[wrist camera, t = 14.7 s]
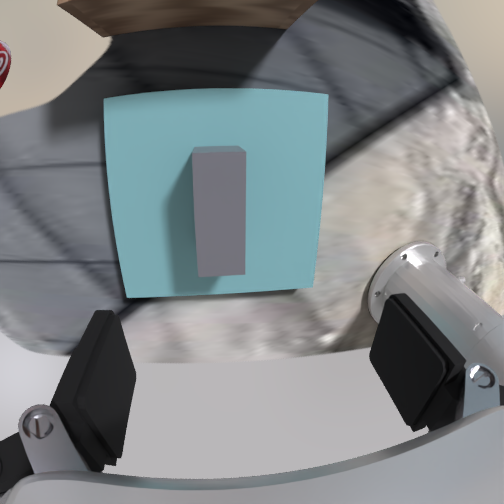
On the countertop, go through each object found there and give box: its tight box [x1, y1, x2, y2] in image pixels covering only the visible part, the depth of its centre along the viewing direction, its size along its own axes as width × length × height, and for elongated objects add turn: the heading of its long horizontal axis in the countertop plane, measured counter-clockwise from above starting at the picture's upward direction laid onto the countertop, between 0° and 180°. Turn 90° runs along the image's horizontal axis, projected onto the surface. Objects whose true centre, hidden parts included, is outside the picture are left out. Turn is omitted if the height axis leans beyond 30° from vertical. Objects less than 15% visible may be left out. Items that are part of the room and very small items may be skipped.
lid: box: [104, 88, 328, 298], centre depth 24 cm, size 19×19×7 cm
